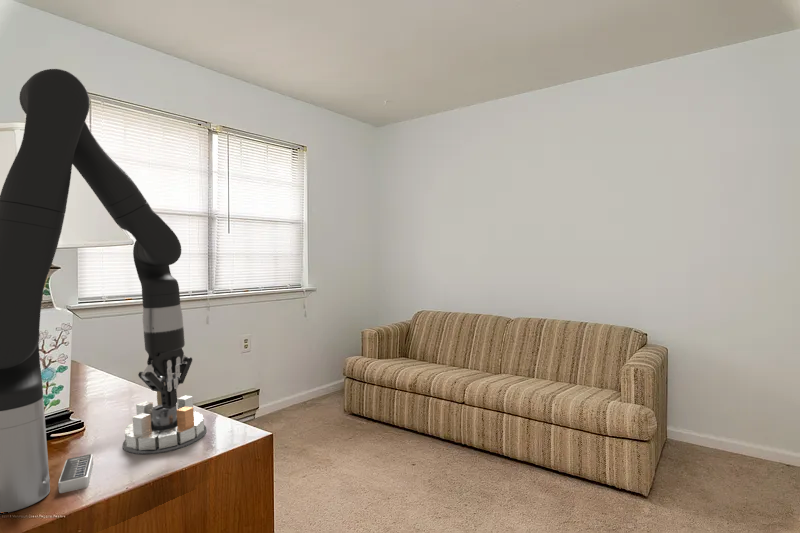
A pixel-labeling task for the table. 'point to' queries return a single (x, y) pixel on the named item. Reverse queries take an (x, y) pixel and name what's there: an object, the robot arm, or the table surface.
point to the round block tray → (147, 439)
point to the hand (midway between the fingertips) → (170, 407)
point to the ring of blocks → (164, 421)
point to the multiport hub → (76, 473)
